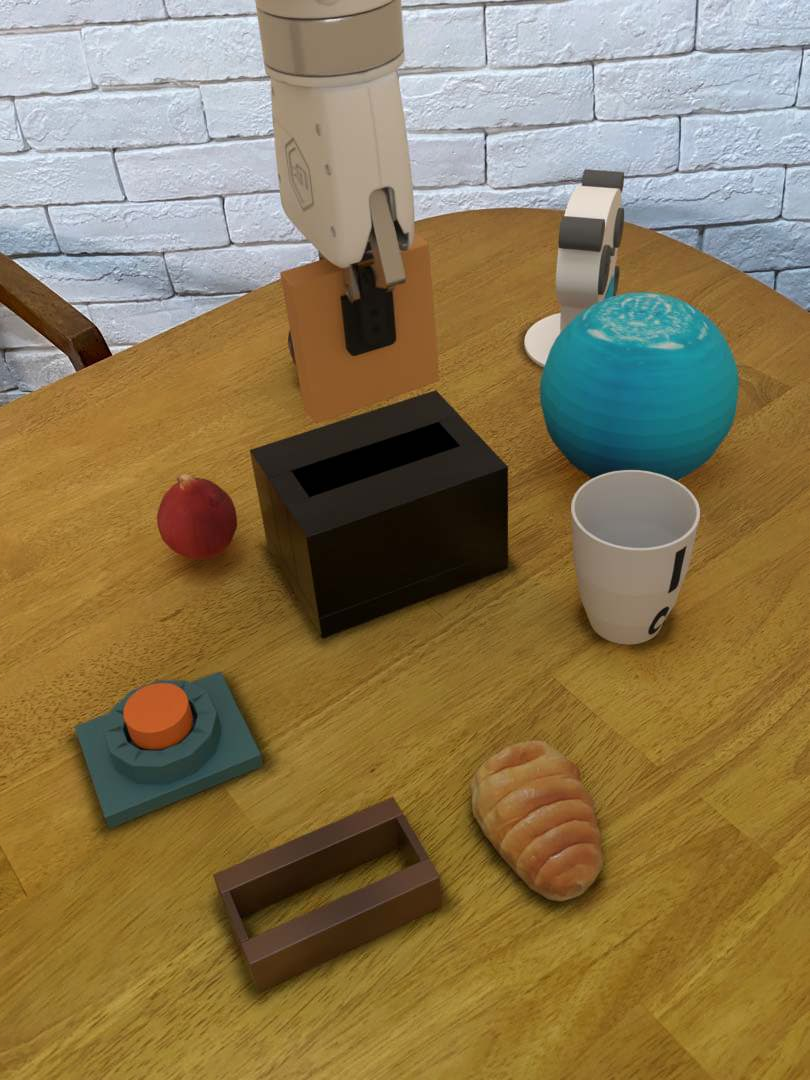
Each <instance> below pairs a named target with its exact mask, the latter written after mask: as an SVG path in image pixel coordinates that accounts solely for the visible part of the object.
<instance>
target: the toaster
mask: <svg viewBox="0 0 810 1080" xmlns="http://www.w3.org/2000/svg"><path fill="white" fill-rule="evenodd" d="M249 454H250V459H251V465H252V471H253V476H254V481H255V487H256V493H257V497H258V502H259V507H260V513H261V518H262V524H263V530H264V534H265V535H264V536H265V540H266V546H267V549H268V551H269V553H270V555H271V556H272V558H273V560H274V562H275V563H276V564H277V566H278V568H279V570H280V571H281V573H282V574H283V576H284V578H285V580H286V581H287V583H288V585H289V586H290V588H291V589H292V591H293V593H294V594H295V597H296V598H297V599H298V602H299V603H300V604H301V606H302V608H303V609H304V611H305V613H306V614H307V616H308V618H309V620H310V621H311V623H312V624H313V626H314V628H315V630H316V631H317V633H318V635H319V637H320V638H321V639H322V640H323V639H325V638H328V637H332V636H334V635H336V634H340V633H341V632H344V631H346V630H349V629H352V628H354V627H357V626H360V625H363V624H366V623H368V622H371V621H372V620H375V619H376V620H377V619H378V618H381V617H383V616H386V615H389V614H392V613H394V612H397V611H399V610H402V609H405V608H407V607H410V606H412V605H415V604H418V603H420V602H423V601H426V600H429V599H431V598H433V597H434V598H435V597H436V596H439V595H441V594H444V593H447V592H449V591H452V590H454V589H457V588H460V587H463V586H465V585H467V584H470V583H473V582H476V581H479V580H480V579H483V578H486V577H488V576H491V575H494V574H496V573H499V572H501V571H502V572H503V571H505V570H507V569H509V466H508V465H507V464H506V463H505V462H504V461H503V459H502V458H500V456H499V455H498V454H497V453H496V452H495V451H494V450H493V449H492V448H491V447H490V446H489V444H487V442H486V441H485V440H484V439H483V438H482V437H481V436H480V435H479V434H478V433H477V432H476V431H475V430H474V429H473V427H471V425H469V423H468V422H467V421H466V420H465V419H464V418H463V417H462V416H461V415H460V414H459V412H458V411H456V409H455V408H454V407H453V406H452V405H451V404H450V403H449V402H448V401H447V400H446V399H445V398H444V397H443V395H441V393H440V392H438V390H436V389H435V390H432V391H429V392H426V393H422V394H419V395H416V396H414V397H411V398H407V399H403V400H400V401H397V402H394V403H392V404H391V403H390V404H388V405H386V406H382V407H379V408H375V409H372V410H369V411H367V412H363V413H359V414H357V415H354V416H351V417H348V418H344V419H342V420H339V421H336V422H333V423H329V424H326V425H323V426H320V427H317V428H314V429H310V430H308V431H305V432H304V431H303V432H301V433H298V434H294V435H292V436H288V437H285V438H282V439H279V440H276V441H273V442H269V443H267V444H264V445H261V446H257V447H254V448H250V449H249Z"/></svg>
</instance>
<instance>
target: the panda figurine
mask: <svg viewBox="0 0 810 1080" xmlns="http://www.w3.org/2000/svg"><path fill="white" fill-rule="evenodd" d="M624 184H625V172H624V171H615V170H614V171H613V170H601V169H587V168H584V170H583V172H582V177H581V185H576V186H575V188H574V189H573V190H572V192H571V195H570V197H569V199H568V202H567V206H566V207H565V211H564V215H562V216H561V219H560V224H559V229H558V240H557V241H558V243H557V244H558V252H557V260H556V271H555V295H556V300H557V303H558V305H559V306H560V312H557V313H554V314H551V315H548V316H546V317H543V318H541V319H540V320H538V321H536V322H535V323H534V324H532V325H531V327H529V328H528V330H527V332H526V334H525V336H524V350H525V352H526V355H527V356H528V358H530V360H531V361H533V362H534V363H535V364H537V365H538V366H540V367H541V368H543V369H544V367H545V363H546V361H547V358H548V355H549V352H550V349H551V347H552V345H553V344H554V342H555V340H556V338H557V337H558V336H559V334H560V333H561V332H562V331H563V329H564V328H565V327H566V326H567V325H568V324H569V323H570V322H571V321H572V320H573V319H574V318H575V317H577V316H578V315H579V314H580V313H581V312H582V311H584V310H585V309H587V308H589V307H591V306H593V305H594V304H596V303H598V302H601V301H603V300H605V299H607V298H610V297H614V296H617V293H618V287H619V282H620V265H616V264H617V259H618V253H619V252H618V251H619V248H620V246H621V243H622V239H623V232H624V225H625V208H624V207H622V194H623V191H624Z"/></svg>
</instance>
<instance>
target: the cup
mask: <svg viewBox="0 0 810 1080" xmlns="http://www.w3.org/2000/svg"><path fill="white" fill-rule="evenodd" d="M570 507H571V508H570V509H571V535H572V559H573V564H574V568H575V575H576V582H577V586H578V592H579V597H580V601H581V602H582V605H583V608H584V610H585V613H586V616H587V619H588V622H589V624H590V626H591V628H592V629H593V630H594V632H595V633H596V634H598V635H599V636H600V637H601V638H602V639H604V640H606V641H608V642H612V643H615V644H618V645H619V644H620V645H638V644H642V643H646V642H648V641H649V640H651V639H653V638H654V637H655V636H657V635H658V633H659V632H660V631H661V629H662V627H663V626H664V624H665V623H666V621H667V619H668V617H669V616H670V614H671V613H672V611H673V609H674V608H675V605H676V604H677V600H678V597H679V594H680V592H681V590H682V587H683V584H684V581H685V579H686V576H687V573H688V570H689V567H690V564H691V560H692V559H691V558H692V554H693V549H694V544H695V541H696V536H697V531H698V528H699V522H700V518H701V509H700V505H699V502H698V500H697V498H696V497H695V495H694V494H693V493H692V491H691V490H689V488H687V487H686V486H685V485H684V484H682V483H681V482H679V481H675V480H673V479H671V478H669V477H667V476H664V475H661V474H657V473H653V472H648V471H640V470H622V471H614V472H609V473H605V474H602V475H599V476H597V477H595V478H593V479H592V478H590V479H589V480H587V481H586V482H585V483H583V484H582V485H581V486H580V487H579V488H578V489H577V491H576V492H575V494H574V495H573V497H572V499H571V505H570Z"/></svg>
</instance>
